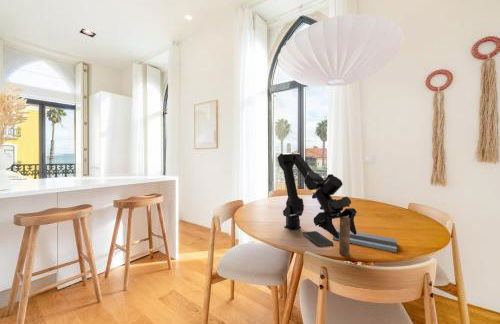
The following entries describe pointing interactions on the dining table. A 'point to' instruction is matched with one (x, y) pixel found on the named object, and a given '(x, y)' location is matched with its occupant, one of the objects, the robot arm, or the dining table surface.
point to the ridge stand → (371, 241)
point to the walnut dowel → (344, 236)
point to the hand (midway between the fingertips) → (347, 236)
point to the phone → (317, 238)
